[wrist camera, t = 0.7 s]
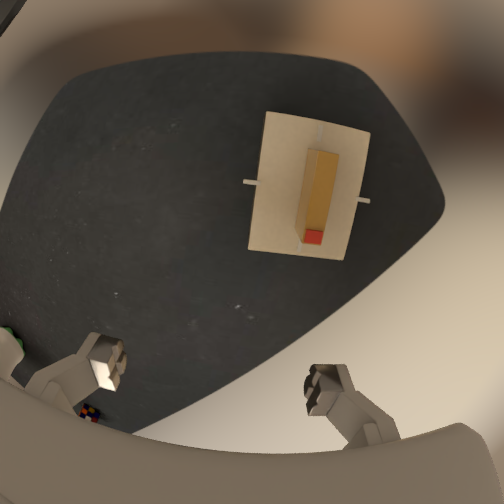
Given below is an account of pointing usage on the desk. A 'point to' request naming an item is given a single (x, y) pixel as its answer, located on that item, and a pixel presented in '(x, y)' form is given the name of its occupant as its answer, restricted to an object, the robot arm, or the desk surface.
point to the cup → (9, 352)
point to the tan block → (290, 183)
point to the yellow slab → (316, 195)
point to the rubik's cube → (89, 414)
